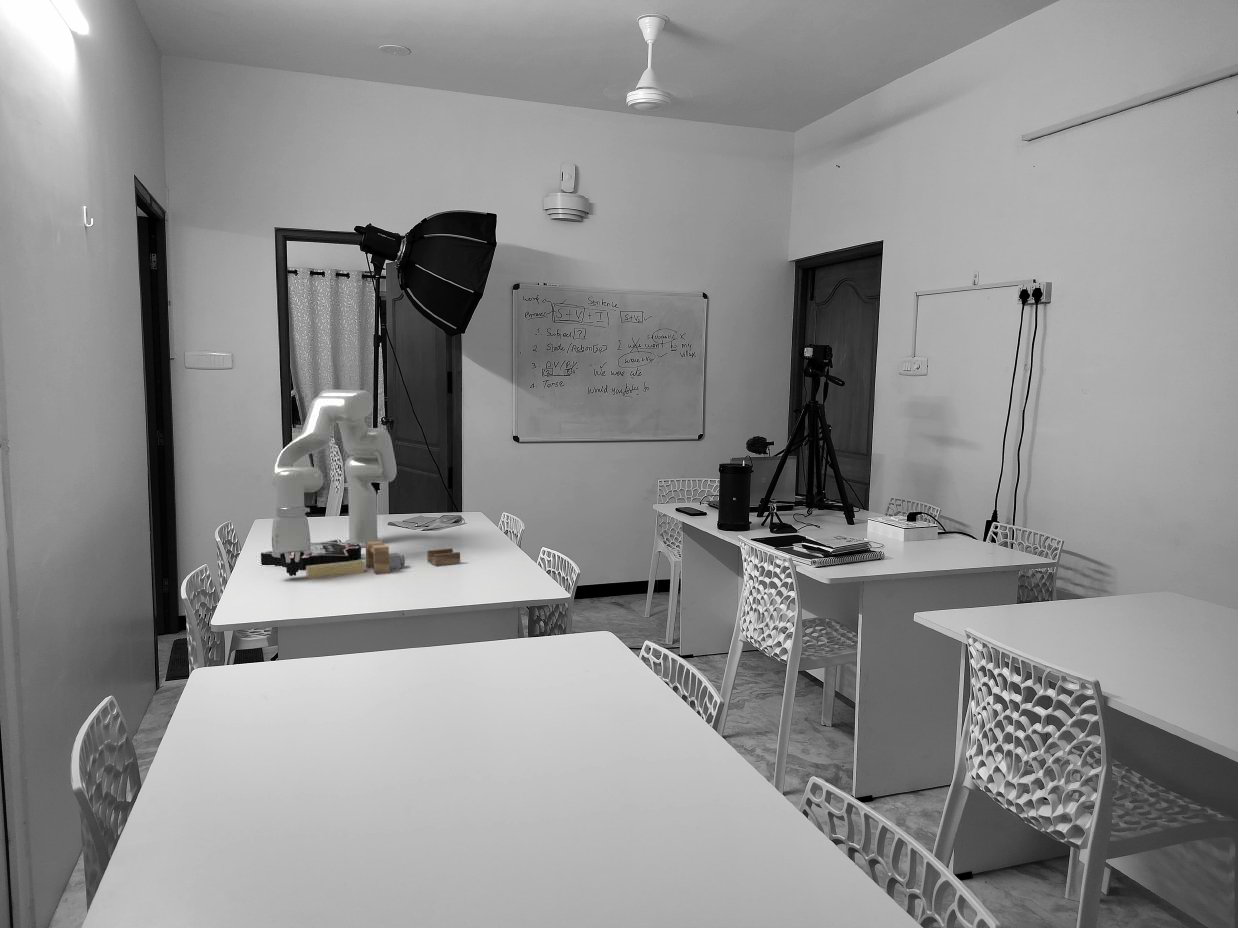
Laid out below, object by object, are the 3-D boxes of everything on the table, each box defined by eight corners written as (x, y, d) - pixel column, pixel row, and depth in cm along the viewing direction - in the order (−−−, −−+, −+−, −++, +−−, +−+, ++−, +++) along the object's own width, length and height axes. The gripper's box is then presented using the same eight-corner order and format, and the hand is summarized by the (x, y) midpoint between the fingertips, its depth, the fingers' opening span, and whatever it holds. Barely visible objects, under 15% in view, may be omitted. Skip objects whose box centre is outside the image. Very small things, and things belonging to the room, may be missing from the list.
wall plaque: (366, 554, 253) (261, 562, 241) (367, 567, 254) (262, 576, 241) (355, 538, 279) (259, 544, 266) (355, 550, 279) (260, 557, 266)
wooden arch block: (366, 566, 253) (365, 541, 252) (379, 565, 255) (378, 540, 254) (375, 574, 243) (375, 548, 242) (389, 572, 245) (388, 546, 244)
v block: (427, 561, 261) (427, 550, 261) (451, 558, 265) (451, 548, 265) (435, 566, 254) (435, 555, 254) (460, 563, 258) (460, 552, 258)
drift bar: (308, 579, 237) (307, 568, 237) (306, 577, 240) (305, 565, 240) (363, 573, 245) (363, 562, 245) (361, 571, 248) (361, 560, 248)
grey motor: (376, 572, 247) (375, 557, 246) (372, 569, 250) (372, 555, 250) (405, 568, 251) (405, 554, 251) (401, 565, 255) (401, 552, 255)
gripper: (315, 509, 242) (316, 569, 243) (260, 512, 234) (262, 575, 236) (320, 512, 235) (321, 574, 237) (264, 516, 228) (266, 580, 229)
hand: (292, 574), depth 236 cm, fingers closed
